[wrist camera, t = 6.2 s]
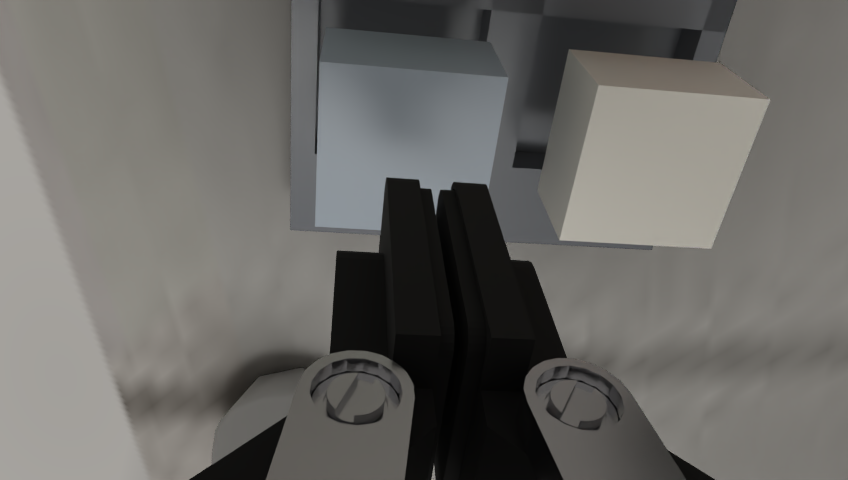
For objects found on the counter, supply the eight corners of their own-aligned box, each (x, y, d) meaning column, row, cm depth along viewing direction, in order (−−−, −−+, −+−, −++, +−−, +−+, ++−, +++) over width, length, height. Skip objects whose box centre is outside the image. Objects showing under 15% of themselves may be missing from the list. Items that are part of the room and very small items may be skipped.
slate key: (483, 28, 18) (508, 77, 15) (462, 166, 20) (480, 235, 17) (328, 14, 17) (319, 61, 14) (323, 157, 19) (315, 226, 16)
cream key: (700, 48, 18) (770, 99, 15) (657, 179, 21) (711, 249, 17) (557, 35, 18) (598, 85, 15) (528, 170, 20) (559, 240, 17)
